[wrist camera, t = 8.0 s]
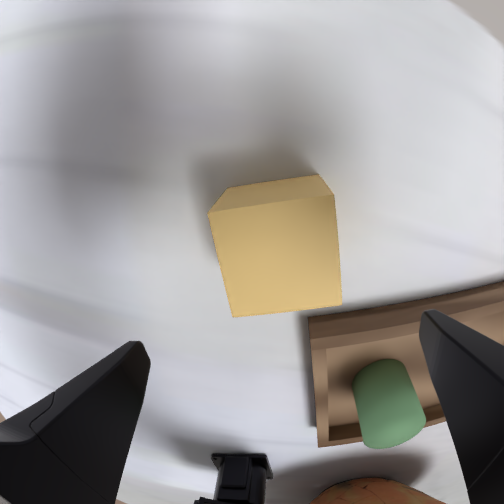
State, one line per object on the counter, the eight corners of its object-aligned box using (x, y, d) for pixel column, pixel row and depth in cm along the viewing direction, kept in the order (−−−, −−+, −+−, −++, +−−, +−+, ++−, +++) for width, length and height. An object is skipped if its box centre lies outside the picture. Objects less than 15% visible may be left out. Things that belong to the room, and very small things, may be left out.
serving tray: (489, 386, 24) (498, 402, 21) (316, 427, 27) (317, 447, 24) (525, 275, 19) (541, 288, 16) (307, 317, 22) (310, 339, 19)
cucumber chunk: (402, 391, 23) (419, 439, 18) (351, 402, 24) (361, 454, 19) (409, 353, 21) (431, 404, 16) (351, 366, 22) (365, 422, 17)
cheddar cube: (328, 258, 20) (342, 305, 15) (244, 269, 21) (232, 317, 16) (318, 174, 18) (333, 194, 13) (227, 187, 19) (207, 213, 14)
